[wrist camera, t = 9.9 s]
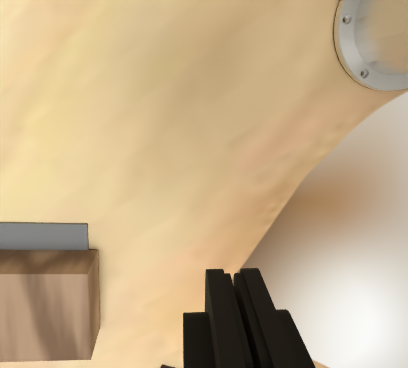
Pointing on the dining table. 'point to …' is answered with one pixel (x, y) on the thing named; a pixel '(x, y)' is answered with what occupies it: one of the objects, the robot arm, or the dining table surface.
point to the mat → (43, 236)
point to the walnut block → (48, 304)
